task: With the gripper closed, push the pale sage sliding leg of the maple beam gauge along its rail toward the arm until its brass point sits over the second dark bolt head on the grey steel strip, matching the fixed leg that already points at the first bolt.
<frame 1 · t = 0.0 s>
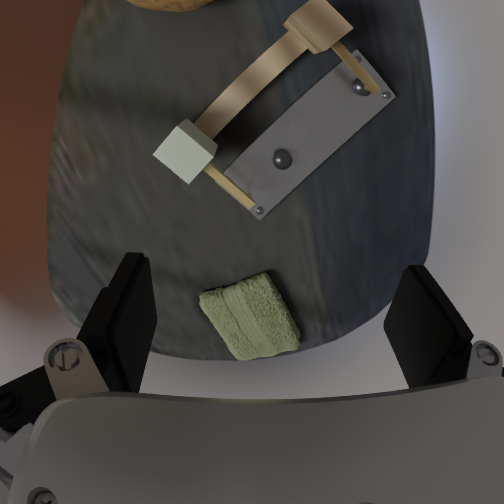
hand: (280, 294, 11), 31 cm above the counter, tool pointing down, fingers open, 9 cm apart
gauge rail: (252, 80, 34), on the counter
bolt plate: (306, 133, 38), on the counter
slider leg: (212, 170, 35), point 5 cm above the counter, slide at 10.5 cm
washcloth: (253, 316, 54), on the counter
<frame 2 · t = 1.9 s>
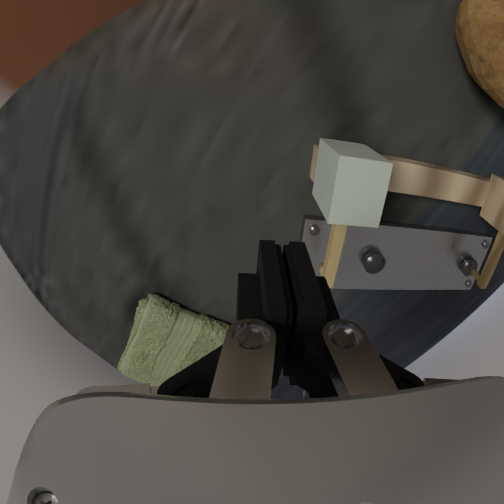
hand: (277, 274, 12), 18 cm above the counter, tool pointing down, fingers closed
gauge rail: (426, 177, 28), on the counter
potato: (478, 54, 21), on the counter
bolt plate: (403, 256, 33), on the counter
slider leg: (340, 223, 25), point 5 cm above the counter, slide at 10.5 cm
washcloth: (173, 346, 41), on the counter
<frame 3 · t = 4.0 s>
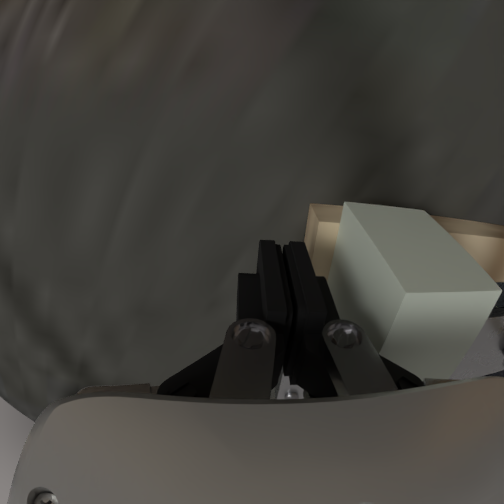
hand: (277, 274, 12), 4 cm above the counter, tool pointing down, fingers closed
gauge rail: (487, 245, 16), on the counter
bolt plate: (436, 349, 21), on the counter
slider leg: (370, 360, 13), point 5 cm above the counter, slide at 9.6 cm, touching gripper
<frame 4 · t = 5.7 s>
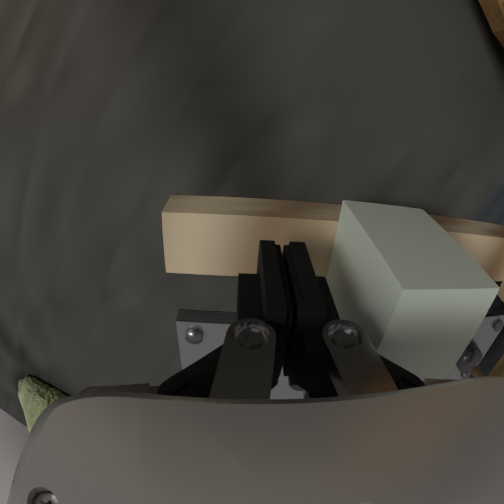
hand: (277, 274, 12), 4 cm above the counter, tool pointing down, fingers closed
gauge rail: (409, 237, 16), on the counter
potato: (503, 9, 9), on the counter
bolt plate: (363, 355, 21), on the counter
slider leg: (368, 358, 13), point 5 cm above the counter, slide at 3.1 cm, touching gripper
washcloth: (77, 423, 28), on the counter
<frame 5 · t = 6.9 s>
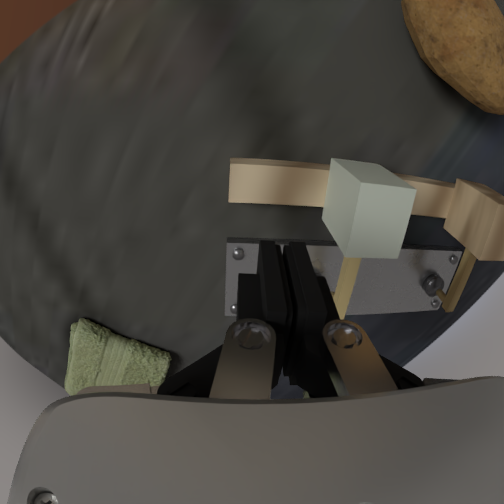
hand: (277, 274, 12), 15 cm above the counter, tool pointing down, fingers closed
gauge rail: (374, 186, 26), on the counter
potato: (436, 38, 19), on the counter
bolt plate: (352, 277, 31), on the counter
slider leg: (353, 251, 23), point 5 cm above the counter, slide at 3.1 cm
washcloth: (114, 369, 37), on the counter
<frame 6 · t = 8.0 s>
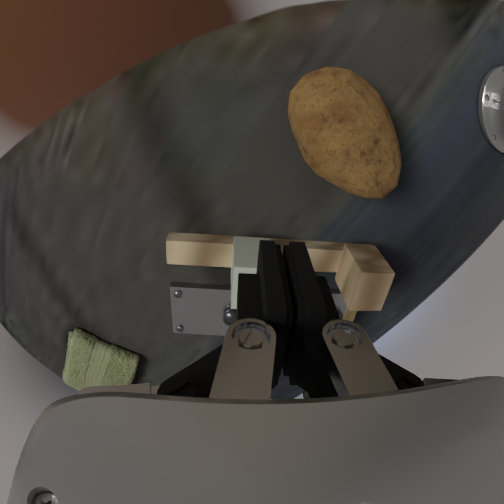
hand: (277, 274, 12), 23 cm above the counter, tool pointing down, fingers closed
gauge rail: (275, 249, 38), on the counter
potato: (334, 127, 31), on the counter
bolt plate: (265, 310, 42), on the counter
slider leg: (248, 300, 35), point 5 cm above the counter, slide at 3.1 cm
washcloth: (100, 365, 48), on the counter
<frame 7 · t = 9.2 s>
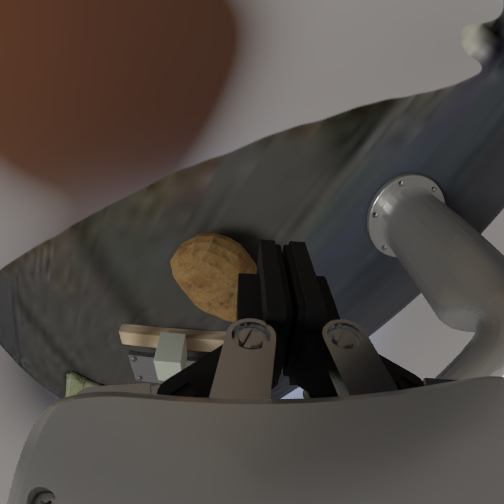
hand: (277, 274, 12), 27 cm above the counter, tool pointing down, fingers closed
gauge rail: (194, 336, 51), on the counter
potato: (223, 260, 44), on the counter
bolt plate: (197, 370, 56), on the counter
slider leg: (173, 371, 49), point 5 cm above the counter, slide at 3.1 cm
washcloth: (91, 394, 63), on the counter
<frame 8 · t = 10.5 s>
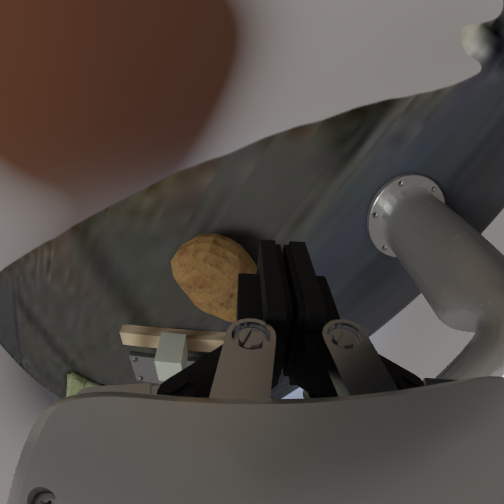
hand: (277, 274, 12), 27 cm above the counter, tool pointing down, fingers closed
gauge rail: (195, 336, 51), on the counter
potato: (223, 261, 44), on the counter
bolt plate: (197, 370, 56), on the counter
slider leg: (174, 372, 49), point 5 cm above the counter, slide at 3.1 cm
washcloth: (91, 394, 63), on the counter
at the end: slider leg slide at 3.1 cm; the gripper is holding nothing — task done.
